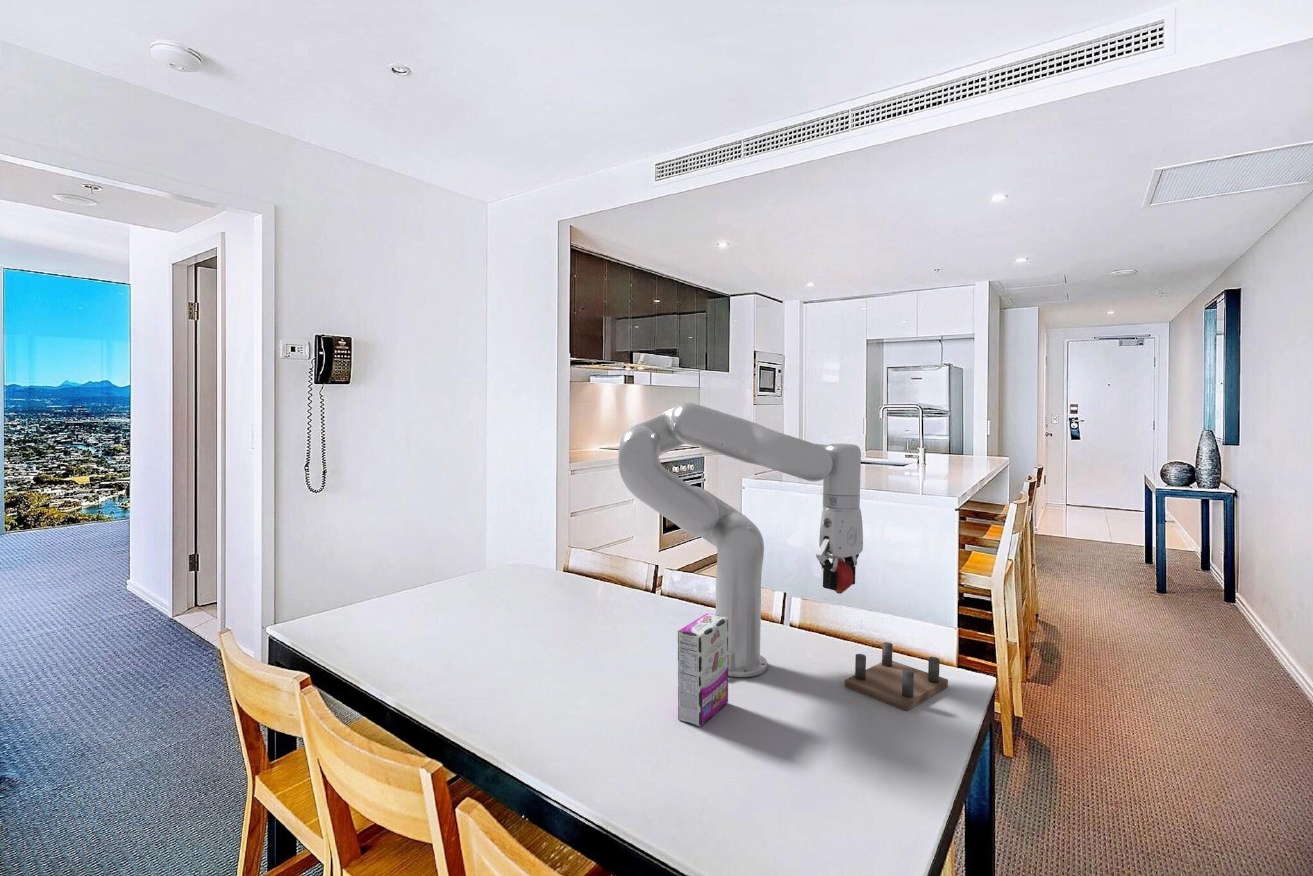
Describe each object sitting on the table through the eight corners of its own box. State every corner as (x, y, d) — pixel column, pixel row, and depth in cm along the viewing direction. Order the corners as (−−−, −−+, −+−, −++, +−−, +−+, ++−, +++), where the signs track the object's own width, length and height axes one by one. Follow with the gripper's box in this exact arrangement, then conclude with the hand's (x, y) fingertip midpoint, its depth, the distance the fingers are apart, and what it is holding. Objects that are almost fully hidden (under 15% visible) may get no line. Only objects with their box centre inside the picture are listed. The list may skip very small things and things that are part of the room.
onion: (821, 589, 140) (822, 553, 139) (846, 589, 140) (847, 553, 140) (830, 597, 134) (831, 559, 134) (857, 597, 135) (858, 559, 134)
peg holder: (906, 711, 118) (907, 679, 117) (844, 686, 127) (845, 657, 127) (947, 686, 128) (948, 657, 128) (887, 666, 138) (888, 638, 137)
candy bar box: (705, 696, 123) (706, 612, 122) (728, 703, 120) (730, 617, 119) (675, 720, 113) (676, 629, 112) (700, 728, 111) (701, 635, 110)
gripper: (832, 508, 128) (830, 597, 129) (878, 500, 139) (876, 582, 140) (801, 503, 133) (799, 589, 134) (848, 496, 145) (846, 575, 146)
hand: (839, 585), depth 137 cm, fingers closed on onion, 5 cm apart
